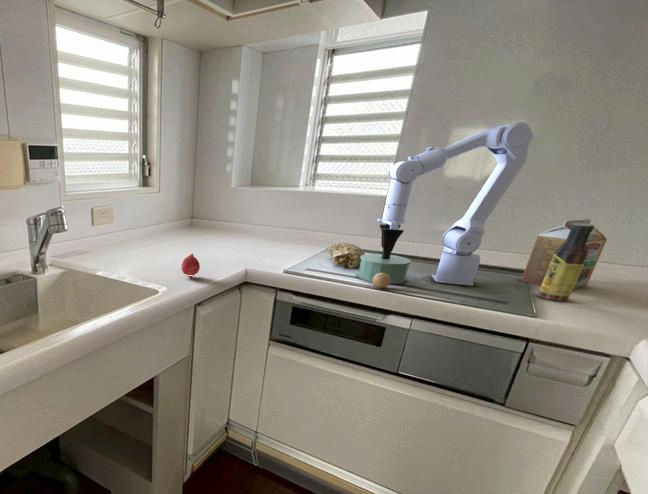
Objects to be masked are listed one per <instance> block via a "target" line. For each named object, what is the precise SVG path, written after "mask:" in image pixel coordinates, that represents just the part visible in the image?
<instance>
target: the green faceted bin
mask: <svg viewBox="0 0 648 494" xmlns="http://www.w3.org/2000/svg"><path fill="white" fill-rule="evenodd" d="M409 267H410V264H408V265H400V266H395V265H381V264H375V263H370V262H366V261H363V260H361V263H360V264H359V269H358V274H357V275H358V278H359V279H361V280H363V281H365V282H370V283H373V278H374V276H375V275H376V274H378V273H386V274H388V275H389V276H390V279H391V282H390V284H389V285H399V284H403V283H405V281H406V278H407V275H408V271H409Z"/></svg>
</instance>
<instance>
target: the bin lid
mask: <svg viewBox="0 0 648 494" xmlns="http://www.w3.org/2000/svg"><path fill="white" fill-rule="evenodd" d="M360 259H361V260H363V261H366V262H370V263H375V264H381V265H395V266H400V265H408V264H409V265H411V263H412V260H411V259H410V258H407V257H404V256H400V255H394V254H392V252H391V253H388V252H383V250H382V252H381V253H365V255H361V257H360Z"/></svg>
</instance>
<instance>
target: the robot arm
mask: <svg viewBox="0 0 648 494" xmlns="http://www.w3.org/2000/svg"><path fill="white" fill-rule="evenodd" d="M534 137H535V136H534V133H533V131H532V129H531V127H530V125H529V124H528V123H527V122H523V121H519V122H515V123H508V124H496V125H494V126H492V127H488V128H484V129H482V130H480V131H477V132H476V133H473V134H471V135H469V136H467V137H465V138H463V139H460V140H459V141H456V142H454V143H452V144H450V145H447V146H446V147H443V148H442V147H440V146H435V147H434V146H429V147H427V148H426V149H425V150H426V151H423V152H421V153H419V154H417V155H415V156H414V155H411V156H408V157H407V160H402V161H401V160H400V161H398V162H396V163H394V165H392V167H391V168H390V170H389V171H388V178H389V179H390V182H389V186H388V191H387V196H386V201H385V205H384V210H383V214H382V218H377V223H378V222H379V223H380V224H379V227H380V233H381V242H380V243H381V248H382V251H383V252H388V253H391V254H392V253H393V250H394V249H395V246H396V244H397V241H398V240H399V238H400V237H401V236H402V234H403V233H404V231H405V230H404V229H400V228H401V226H402V224H405V218H406V213H407V209H408V204H409V201H410V196H411V191H412V187H413V183H414V181H416V179H417V178H418V177H420V176H423V175H425V174H427V173H429V172H433V171H435V170H437V169H439V168H442V167H443V166H444V165H445V164H446V163H447V161H448V160H449V159H452V158H454V157H457V156H460V155H462V154H465V153H468V152H470V151H472V150H476V149H477V148H486V149H487V150H488V151H489V152H490V153H491V154H492V155H493V156H494V158H495V161H496V166H495V168H494V169H493V171H492V172H491V174H490V175H489V177H488V178H487V180H486V182H485V183H484V185H483V186H482V188H481V190H479V192H478V194H477V195H476V197H475V198H474V200H473V201H472V203H471V204H470V206H469V208H468V209H467V211H466V212H465V214H464V215H463V217H461V219H459V220H457V221H455V222H454V223H453V224H452V226H451V227H450V228H449V229H447V230H446V231H445V232H444V233H443V234H442V237H441V244H442V246H443V249H442V252H441V256H440V259H439V263H438V267H437V269H436V274H431V277H432V279H433V280H434V282H435V283H440V284H449V285H450V284H451V285H459V286H460V285H461V286H470V287H471V286H474V282H475V279H476V276H477V273H478V270H479V266H480V262H481V256H480V254H476V253H474V252H476V251H477V250H478V249H479V247H480V246H481V244H482V239H483V236H484V234H485V232H486V231H485V226H484V225H485V223H486V221H487V220H488V218H489V217H490V215H491V214H492V212H494V209H496V207H497V205H498V204H499V203H500V201H501V199H502V198H503V196H504V195H505V193H506V192H507V190H508V189H509V188H510V186H511V185H512V183H513V181H514V180H515V179H516V177H517V176H518V174H519V172H521V170H522V168H523V167H524V165H525V163H526V161H527V157H528V152H529V145H530V143H531V141H532V140H533V139H534ZM382 223H383V224H382Z"/></svg>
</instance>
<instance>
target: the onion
mask: <svg viewBox="0 0 648 494" xmlns="http://www.w3.org/2000/svg"><path fill="white" fill-rule="evenodd" d="M200 265H201V264H200V261H199V260H198V259H197V258H196V257H195V256H194V253H193V252H191V253H190V254H189V255H188V256H186V257H185V258H184V259H183V260H182V263H181V271H182V273H183V274H184V275H185V274H187V275H194V276H196V275H197V274H198V273H199V272H200V270H201V269H200V268H201V266H200ZM195 274H196V275H195ZM187 275H185V276H187ZM194 276H187V278H189V279H192V278H193V277H194Z"/></svg>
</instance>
